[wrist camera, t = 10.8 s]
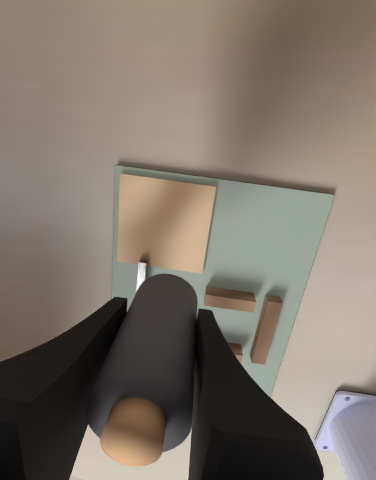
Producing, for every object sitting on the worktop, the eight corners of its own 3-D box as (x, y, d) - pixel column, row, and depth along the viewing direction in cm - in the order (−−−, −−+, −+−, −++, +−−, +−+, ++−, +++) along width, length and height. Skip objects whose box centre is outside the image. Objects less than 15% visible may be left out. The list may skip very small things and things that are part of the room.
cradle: (279, 296, 22) (284, 306, 20) (262, 356, 24) (265, 368, 23) (205, 286, 22) (206, 294, 21) (195, 346, 24) (195, 358, 23)
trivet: (216, 186, 19) (216, 186, 19) (202, 271, 21) (202, 273, 21) (121, 173, 19) (119, 173, 19) (118, 259, 22) (116, 261, 21)
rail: (148, 258, 21) (146, 263, 20) (137, 399, 27) (134, 408, 26) (141, 257, 21) (138, 262, 20) (131, 398, 27) (128, 407, 26)
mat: (331, 194, 19) (334, 195, 19) (256, 434, 28) (256, 438, 28) (116, 165, 19) (115, 165, 19) (109, 411, 28) (108, 415, 28)
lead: (200, 276, 14) (195, 409, 7) (195, 329, 15) (186, 488, 8) (135, 270, 14) (66, 396, 7) (135, 323, 15) (77, 476, 8)
